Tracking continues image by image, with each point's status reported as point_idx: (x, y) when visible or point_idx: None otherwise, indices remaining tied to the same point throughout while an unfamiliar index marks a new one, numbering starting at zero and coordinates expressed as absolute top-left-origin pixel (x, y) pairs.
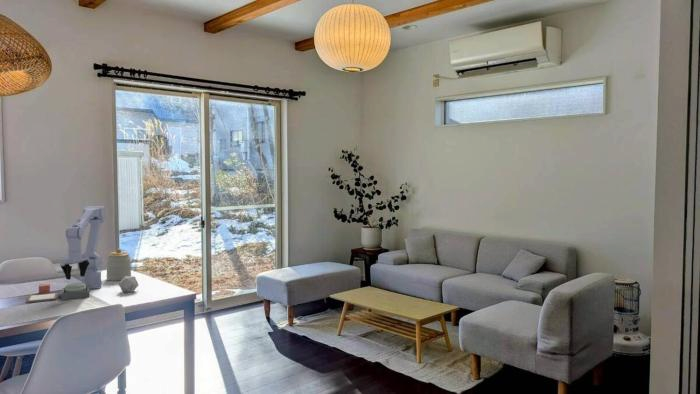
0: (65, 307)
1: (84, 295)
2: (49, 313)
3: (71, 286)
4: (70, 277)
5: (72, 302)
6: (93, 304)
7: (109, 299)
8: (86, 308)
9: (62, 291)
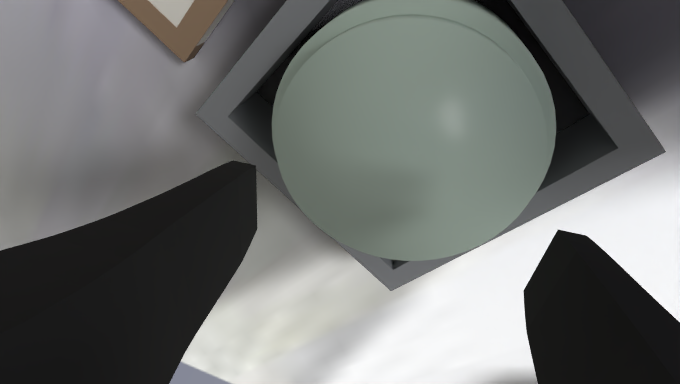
0: None
1: None
2: None
3: (296, 181)
4: (236, 261)
5: None
6: (253, 354)
7: (375, 379)
8: (187, 356)
9: (261, 52)
